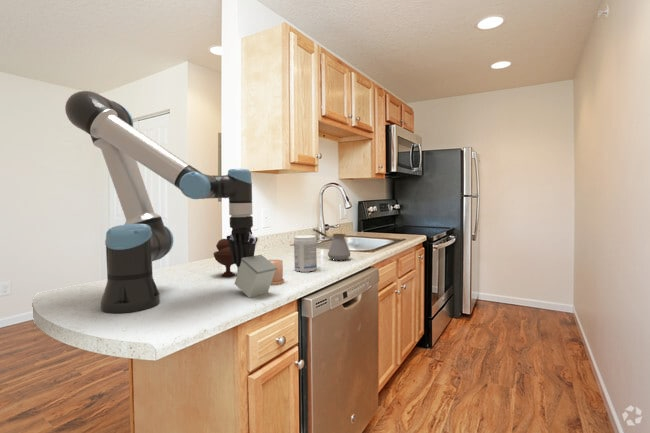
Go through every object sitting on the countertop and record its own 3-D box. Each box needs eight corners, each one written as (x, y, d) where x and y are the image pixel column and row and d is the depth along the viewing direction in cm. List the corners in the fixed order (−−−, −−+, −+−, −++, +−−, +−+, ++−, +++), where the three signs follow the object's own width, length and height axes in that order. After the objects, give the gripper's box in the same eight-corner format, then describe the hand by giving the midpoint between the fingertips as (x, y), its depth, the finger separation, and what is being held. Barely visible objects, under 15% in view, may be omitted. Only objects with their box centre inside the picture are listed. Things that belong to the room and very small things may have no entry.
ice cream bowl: (235, 279, 137) (234, 240, 136) (208, 277, 139) (207, 239, 139) (246, 273, 148) (246, 237, 147) (221, 272, 150) (221, 236, 149)
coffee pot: (354, 258, 181) (354, 229, 180) (344, 262, 171) (344, 231, 170) (317, 255, 191) (317, 227, 191) (306, 258, 181) (306, 229, 180)
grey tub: (249, 298, 112) (257, 272, 109) (233, 283, 116) (241, 258, 113) (268, 292, 119) (277, 267, 116) (253, 278, 123) (261, 254, 120)
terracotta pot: (273, 286, 126) (273, 264, 126) (258, 283, 131) (257, 261, 130) (288, 282, 133) (288, 260, 132) (273, 279, 137) (272, 258, 137)
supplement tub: (318, 268, 157) (318, 235, 157) (314, 273, 148) (313, 237, 147) (297, 267, 159) (297, 234, 158) (291, 272, 150) (291, 237, 149)
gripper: (263, 215, 118) (264, 285, 120) (236, 214, 125) (238, 280, 127) (245, 217, 112) (248, 291, 114) (219, 215, 119) (221, 285, 121)
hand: (243, 285), depth 120 cm, fingers closed
